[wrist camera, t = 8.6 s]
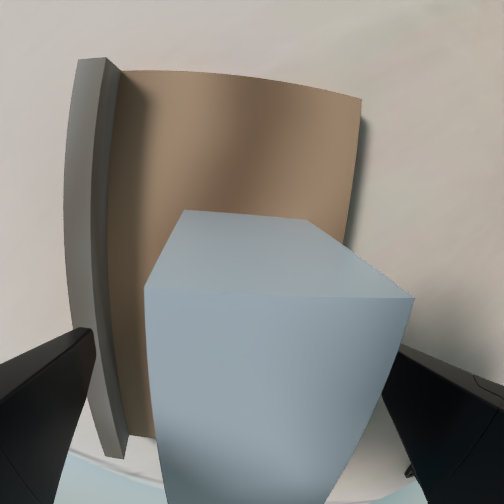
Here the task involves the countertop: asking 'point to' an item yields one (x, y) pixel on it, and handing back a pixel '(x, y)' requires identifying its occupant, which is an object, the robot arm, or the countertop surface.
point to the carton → (264, 357)
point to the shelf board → (181, 195)
